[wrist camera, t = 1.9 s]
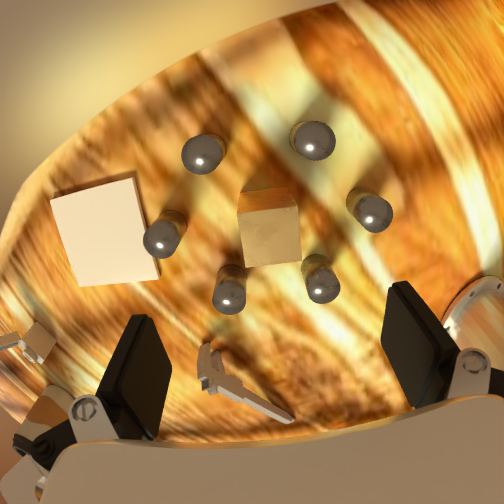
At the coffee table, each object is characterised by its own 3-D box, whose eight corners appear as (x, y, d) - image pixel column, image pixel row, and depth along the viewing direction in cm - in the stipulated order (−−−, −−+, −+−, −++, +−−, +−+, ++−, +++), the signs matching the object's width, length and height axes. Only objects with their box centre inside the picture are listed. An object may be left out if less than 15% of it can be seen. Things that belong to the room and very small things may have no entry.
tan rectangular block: (287, 186, 24) (297, 206, 19) (291, 230, 26) (301, 260, 21) (240, 192, 25) (236, 213, 19) (246, 235, 26) (245, 267, 21)
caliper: (200, 342, 32) (191, 384, 26) (207, 338, 32) (200, 380, 26) (289, 420, 39) (292, 453, 33) (295, 417, 39) (299, 451, 33)
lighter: (57, 340, 33) (32, 379, 25) (54, 345, 33) (29, 383, 26) (22, 305, 30) (-9, 341, 23) (19, 311, 31) (-10, 346, 24)
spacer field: (370, 119, 22) (390, 119, 18) (372, 272, 28) (386, 293, 24) (140, 147, 23) (121, 153, 19) (176, 295, 29) (167, 319, 25)
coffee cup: (54, 404, 40) (27, 462, 27) (35, 375, 37) (0, 437, 23) (88, 413, 40) (63, 478, 27) (69, 385, 37) (35, 455, 23)
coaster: (134, 176, 24) (132, 177, 23) (160, 276, 28) (158, 279, 27) (53, 198, 24) (49, 200, 24) (81, 284, 28) (79, 286, 28)
